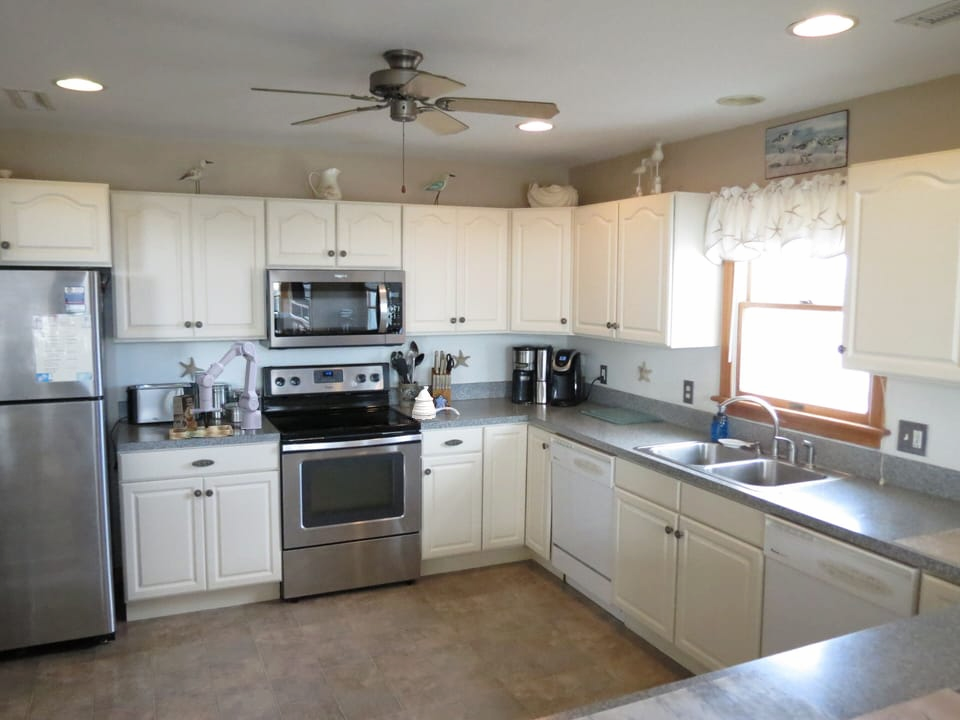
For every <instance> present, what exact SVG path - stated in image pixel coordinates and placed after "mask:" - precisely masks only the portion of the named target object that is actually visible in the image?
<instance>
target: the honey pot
mask: <svg viewBox="0 0 960 720" xmlns="http://www.w3.org/2000/svg"><path fill="white" fill-rule="evenodd" d="M423 388H424V389H422V390H421V391H419V393H418V395H417V397H414V400H415V401H414V404H413V409H412V410H411V419H412V418H415V419H422V420H425V419H432V418H435V417H436V416H437V410H436V408H435V404H434V402H433V400H434V398H433V397H432V396H431V394H430V393H429V391H428V389H429V386H426V385H425V386H423Z"/></svg>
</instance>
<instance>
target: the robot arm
mask: <svg viewBox="0 0 960 720" xmlns="http://www.w3.org/2000/svg"><path fill="white" fill-rule="evenodd" d="M239 356H242V357H243V358H244V359H245V360H246V361H245V362H246V364H245V374H244V386H243V387H244V388H243V392H241V394H240V398H239V400H238V405H239V407H240V410H241V411H240V414H241V425H240V426H239V427H240V429H241V430H242V429H246V430H259V429H262V413H261V412H262V411H261V410H258V408H259V406H260V403H259V397H258V394H257V393H256V387H257V386H256V385H257V375H258V364H259V355H258V352H257V350H256V345H255V344H254V343H252V342H251V341H245V340H236V341H234V344H232V345H231V347H230V349H229V350H228V351H227V352H226V353H225V354H224V356H223V357H222V358H221V359H220V360H219V361H218V362H214V363H211V364H210V367H208V369H207V370H206V371H204V372H203V374H200V375H199V376H198V377H197V379H196V384H197V385H198V387H199V388H198V390H199V392H198V393H199V394H198V395H199V408H198V407H197V408H194V409H190V414H193V413H194V414H200V417H201V418H202V421H203V423H204V427H205V428H208V426H210V425H209V424H210V421H211V418H212V416H213V413H222V412H223V407H213V386H214V384H215V381H216V380H217V379H218V377H219V376H221V374H222V373H223V372H224V370H225V367H226V366H227V365H228V364H229V363H230V362H232V360H234V359H235V357H239Z"/></svg>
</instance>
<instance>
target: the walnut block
mask: <svg viewBox="0 0 960 720" xmlns="http://www.w3.org/2000/svg"><path fill="white" fill-rule="evenodd" d="M186 425H187V431H197V427H198V421H197V420H195V421H186Z"/></svg>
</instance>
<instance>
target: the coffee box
mask: <svg viewBox="0 0 960 720" xmlns="http://www.w3.org/2000/svg"><path fill="white" fill-rule="evenodd" d="M172 404H173V405H172V410H173V413H172V416H173V428H187V425H186V421H196V420H195V413H193V414H190V409H195V394H179V395H175V396H172Z"/></svg>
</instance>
